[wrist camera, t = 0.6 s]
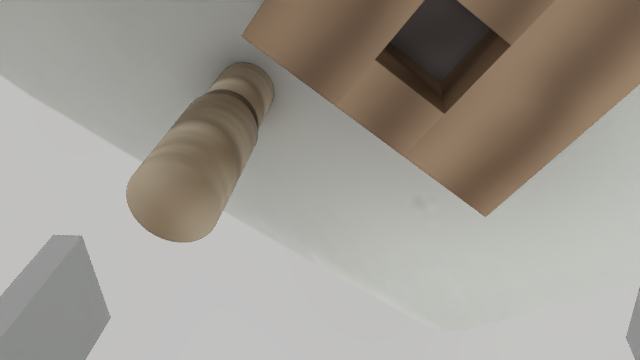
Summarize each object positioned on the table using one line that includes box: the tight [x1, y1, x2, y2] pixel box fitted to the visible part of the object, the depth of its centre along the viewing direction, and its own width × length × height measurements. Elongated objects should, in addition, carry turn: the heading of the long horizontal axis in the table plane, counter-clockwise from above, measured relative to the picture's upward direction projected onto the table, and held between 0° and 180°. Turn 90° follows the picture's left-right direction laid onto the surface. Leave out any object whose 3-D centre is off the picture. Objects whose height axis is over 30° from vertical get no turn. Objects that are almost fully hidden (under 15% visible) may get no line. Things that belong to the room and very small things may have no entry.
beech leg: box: [126, 63, 274, 242], centre depth 33 cm, size 4×4×14 cm
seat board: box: [241, 0, 640, 217], centre depth 27 cm, size 18×20×14 cm
